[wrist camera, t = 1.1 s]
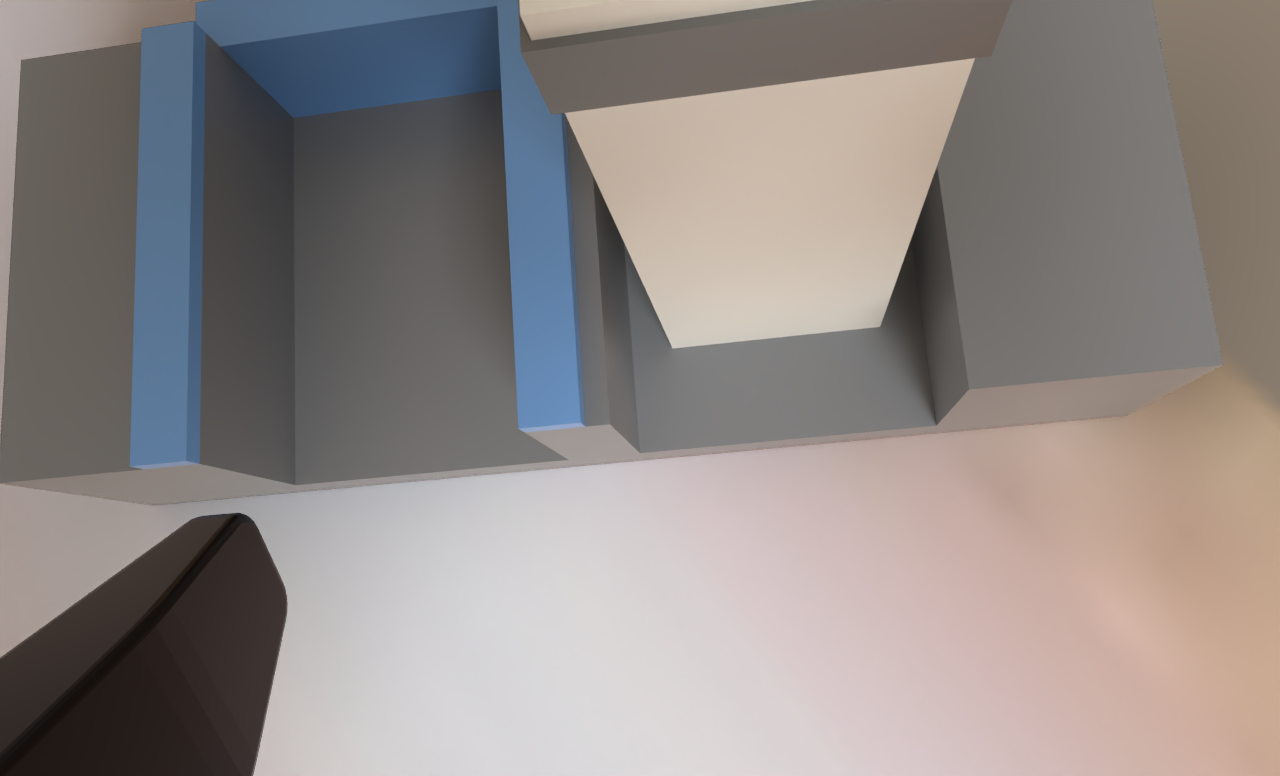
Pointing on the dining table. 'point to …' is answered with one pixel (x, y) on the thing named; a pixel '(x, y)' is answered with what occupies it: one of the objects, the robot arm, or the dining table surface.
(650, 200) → the plug
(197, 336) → the grey compartment tray
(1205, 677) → the dining table surface
